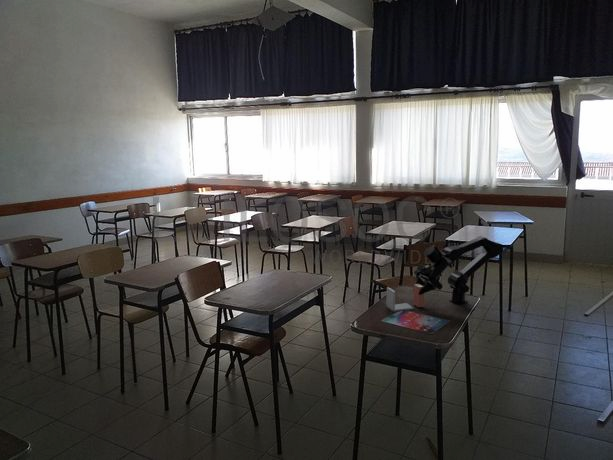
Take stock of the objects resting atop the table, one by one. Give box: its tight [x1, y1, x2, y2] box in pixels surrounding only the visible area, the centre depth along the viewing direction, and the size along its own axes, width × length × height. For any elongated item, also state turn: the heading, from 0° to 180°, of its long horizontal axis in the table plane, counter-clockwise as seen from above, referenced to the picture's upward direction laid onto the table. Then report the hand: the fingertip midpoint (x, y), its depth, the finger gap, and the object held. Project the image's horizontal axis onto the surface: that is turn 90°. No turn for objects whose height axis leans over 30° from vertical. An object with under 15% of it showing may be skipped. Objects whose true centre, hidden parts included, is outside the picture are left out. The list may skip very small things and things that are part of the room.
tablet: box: [380, 310, 450, 336], centre depth 213 cm, size 19×25×1 cm
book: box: [412, 283, 425, 308], centre depth 231 cm, size 3×5×10 cm, turn 16°
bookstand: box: [385, 287, 415, 313], centre depth 229 cm, size 11×7×10 cm, turn 106°
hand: (416, 292), depth 231 cm, fingers closed on book, 5 cm apart
